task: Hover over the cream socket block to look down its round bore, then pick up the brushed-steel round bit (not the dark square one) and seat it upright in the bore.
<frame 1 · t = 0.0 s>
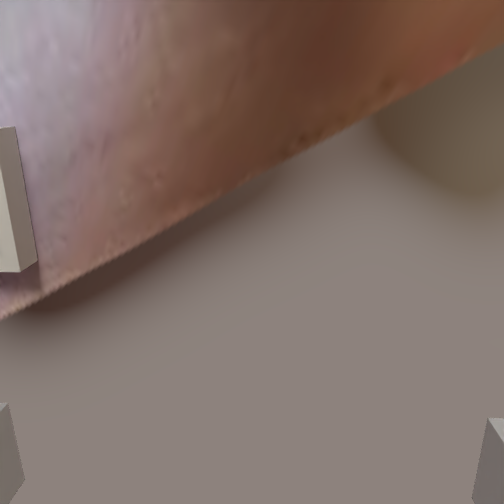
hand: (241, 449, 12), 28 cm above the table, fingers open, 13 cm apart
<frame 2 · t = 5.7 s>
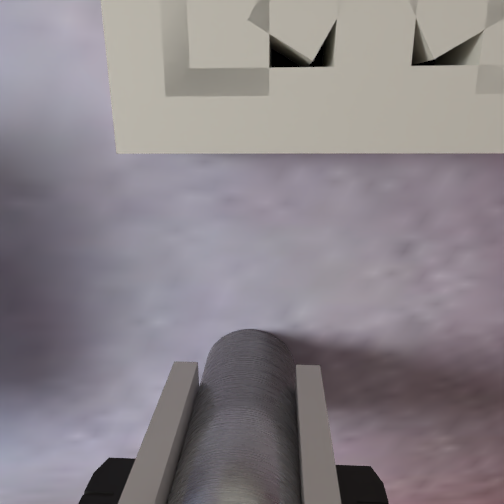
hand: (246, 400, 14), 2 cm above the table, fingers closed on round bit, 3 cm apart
round bit: (250, 368, 16), on the table, touching gripper
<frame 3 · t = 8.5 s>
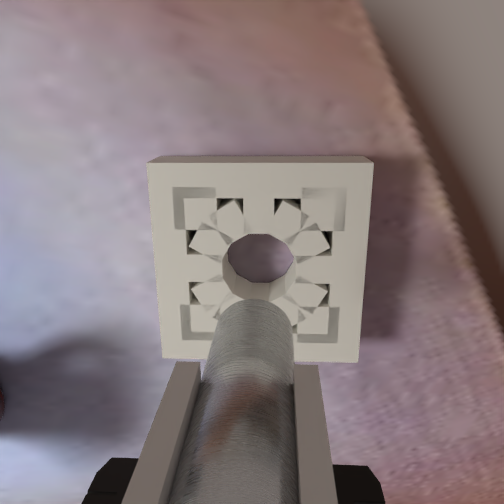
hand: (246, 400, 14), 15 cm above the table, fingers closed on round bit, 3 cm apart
round bit: (254, 333, 19), point 10 cm above the table, touching gripper
bore block: (260, 252, 28), on the table
when the fingers open (4 cm above the table, at t = 11.6 s): round bit stays where it is, resting in bore block.
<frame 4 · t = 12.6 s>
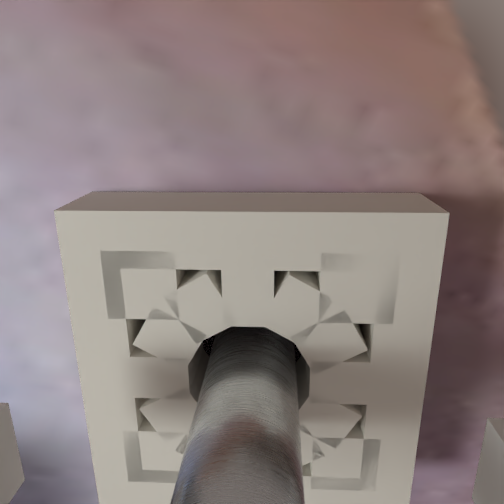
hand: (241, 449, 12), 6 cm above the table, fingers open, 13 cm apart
round bit: (254, 338, 18), resting in bore block
bore block: (253, 337, 18), on the table
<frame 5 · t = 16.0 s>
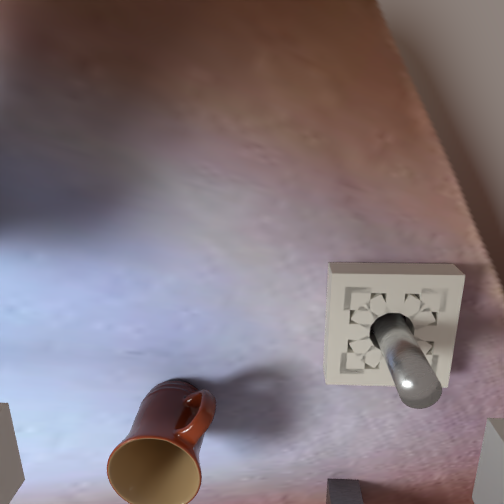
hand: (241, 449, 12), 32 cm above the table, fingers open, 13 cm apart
round bit: (385, 318, 46), resting in bore block
bore block: (384, 318, 46), on the table
square bit: (342, 491, 53), on the table
mug: (186, 393, 50), on the table
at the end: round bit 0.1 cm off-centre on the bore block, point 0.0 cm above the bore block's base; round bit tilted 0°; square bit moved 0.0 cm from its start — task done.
